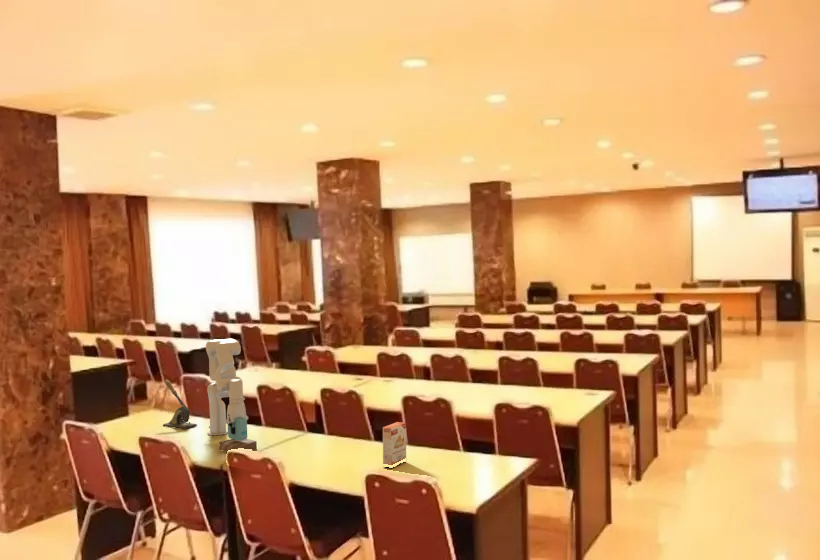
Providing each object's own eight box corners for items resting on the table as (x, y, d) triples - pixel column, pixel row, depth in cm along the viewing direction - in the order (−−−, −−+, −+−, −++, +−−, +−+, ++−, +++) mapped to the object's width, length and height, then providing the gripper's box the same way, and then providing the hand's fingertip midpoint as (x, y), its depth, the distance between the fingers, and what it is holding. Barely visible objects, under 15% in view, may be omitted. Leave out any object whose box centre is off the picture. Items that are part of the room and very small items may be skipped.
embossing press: (183, 430, 457) (181, 383, 456) (161, 425, 471) (159, 380, 470) (197, 426, 466) (196, 380, 464) (175, 422, 479) (173, 377, 478)
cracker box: (392, 469, 362) (391, 428, 361) (382, 467, 365) (381, 427, 364) (407, 462, 374) (406, 422, 373) (397, 460, 377) (396, 421, 376)
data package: (247, 439, 404) (246, 418, 404) (241, 441, 401) (240, 419, 400) (234, 436, 412) (233, 415, 411) (227, 438, 408) (227, 417, 408)
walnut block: (219, 450, 407) (219, 442, 406) (240, 445, 417) (239, 437, 417) (235, 455, 396) (235, 446, 396) (256, 450, 406) (256, 441, 406)
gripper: (245, 397, 414) (246, 429, 415) (219, 402, 402) (220, 434, 403) (252, 399, 409) (253, 431, 410) (226, 404, 397) (227, 437, 398)
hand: (237, 432), depth 406 cm, fingers closed on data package, 4 cm apart
